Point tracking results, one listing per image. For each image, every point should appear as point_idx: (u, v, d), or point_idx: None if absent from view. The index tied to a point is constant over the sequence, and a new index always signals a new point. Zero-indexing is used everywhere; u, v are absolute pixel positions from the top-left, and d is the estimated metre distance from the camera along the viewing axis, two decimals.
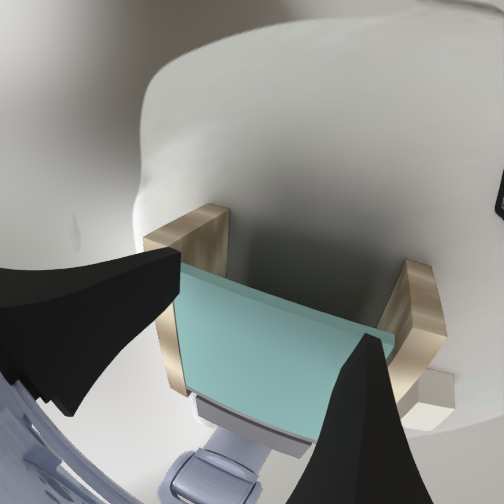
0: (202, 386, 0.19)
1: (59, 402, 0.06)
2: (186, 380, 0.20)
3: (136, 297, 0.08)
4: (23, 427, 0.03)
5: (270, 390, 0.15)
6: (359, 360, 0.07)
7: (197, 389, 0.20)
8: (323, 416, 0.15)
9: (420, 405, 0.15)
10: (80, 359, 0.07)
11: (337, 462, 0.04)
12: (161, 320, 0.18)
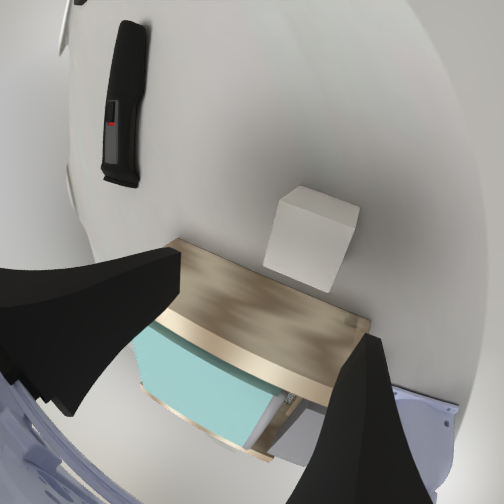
0: (232, 436, 0.20)
1: (59, 402, 0.06)
2: (234, 443, 0.21)
3: (136, 297, 0.08)
4: (23, 427, 0.03)
5: (199, 394, 0.19)
6: (359, 360, 0.07)
7: (240, 442, 0.20)
8: (213, 376, 0.16)
9: (270, 261, 0.15)
10: (80, 359, 0.07)
11: (337, 462, 0.04)
12: (187, 419, 0.24)
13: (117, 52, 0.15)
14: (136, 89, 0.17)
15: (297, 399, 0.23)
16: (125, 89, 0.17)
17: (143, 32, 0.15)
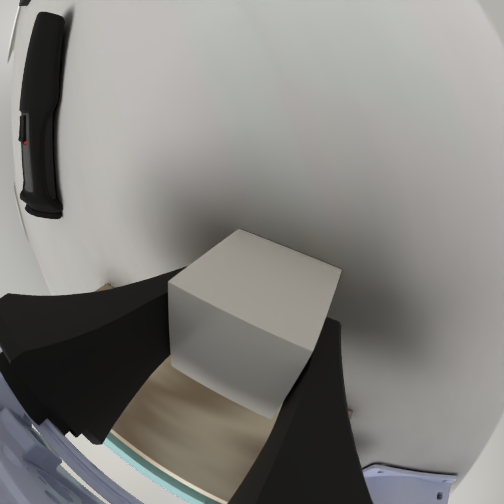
0: (187, 501, 0.14)
1: (89, 434, 0.05)
2: None
3: None
4: (23, 427, 0.03)
5: (139, 468, 0.12)
6: None
7: None
8: (140, 466, 0.10)
9: (179, 364, 0.09)
10: (113, 389, 0.06)
11: (275, 440, 0.05)
12: None
13: (29, 53, 0.08)
14: (47, 97, 0.11)
15: None
16: (35, 99, 0.10)
17: (60, 23, 0.08)
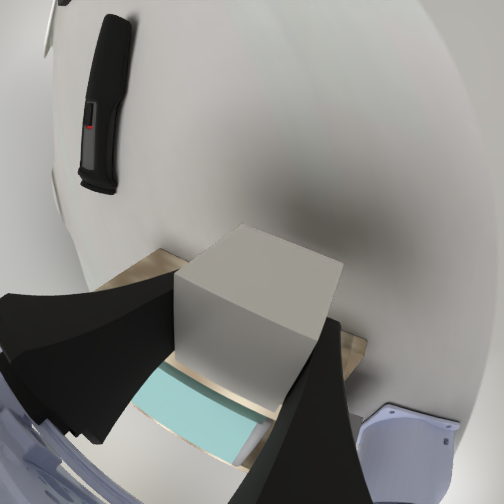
0: (220, 453, 0.19)
1: (89, 433, 0.05)
2: (223, 459, 0.19)
3: (171, 319, 0.08)
4: (23, 427, 0.03)
5: (183, 414, 0.17)
6: None
7: (229, 460, 0.19)
8: (194, 399, 0.15)
9: (184, 357, 0.09)
10: (113, 389, 0.06)
11: (275, 440, 0.05)
12: (175, 433, 0.22)
13: (98, 49, 0.13)
14: (115, 91, 0.15)
15: None
16: (104, 90, 0.15)
17: (128, 27, 0.13)
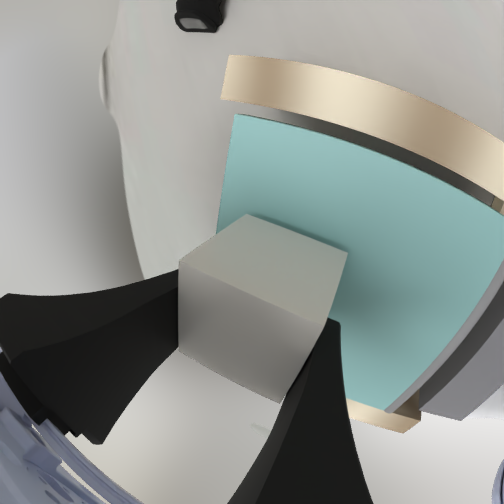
0: (379, 389, 0.12)
1: (89, 434, 0.05)
2: (373, 405, 0.12)
3: (171, 319, 0.08)
4: (23, 427, 0.03)
5: (364, 291, 0.10)
6: None
7: (389, 399, 0.12)
8: (426, 212, 0.08)
9: (187, 348, 0.09)
10: (113, 389, 0.06)
11: (275, 440, 0.05)
12: None
13: None
14: None
15: None
16: None
17: None
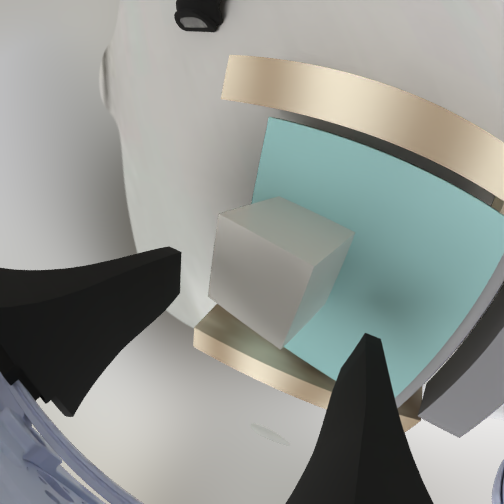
0: None
1: (59, 403, 0.06)
2: None
3: (136, 297, 0.08)
4: (23, 427, 0.03)
5: (367, 277, 0.11)
6: (359, 360, 0.07)
7: None
8: (422, 205, 0.09)
9: (215, 292, 0.11)
10: (80, 359, 0.07)
11: (337, 462, 0.04)
12: (280, 383, 0.15)
13: None
14: None
15: None
16: None
17: None
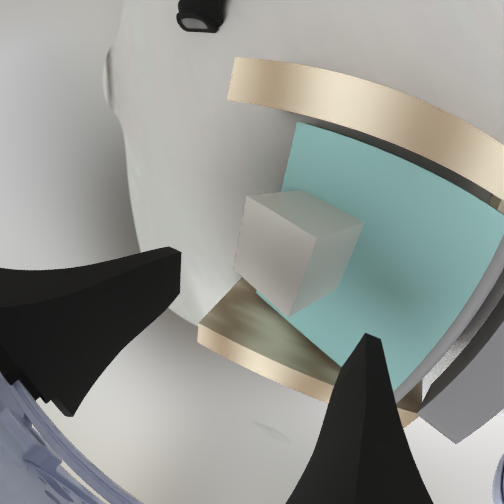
0: None
1: (59, 402, 0.06)
2: None
3: (136, 297, 0.08)
4: (23, 427, 0.03)
5: (373, 264, 0.12)
6: (359, 360, 0.07)
7: None
8: (421, 199, 0.10)
9: (239, 264, 0.14)
10: (80, 359, 0.07)
11: (337, 462, 0.04)
12: (283, 377, 0.16)
13: None
14: None
15: None
16: None
17: None
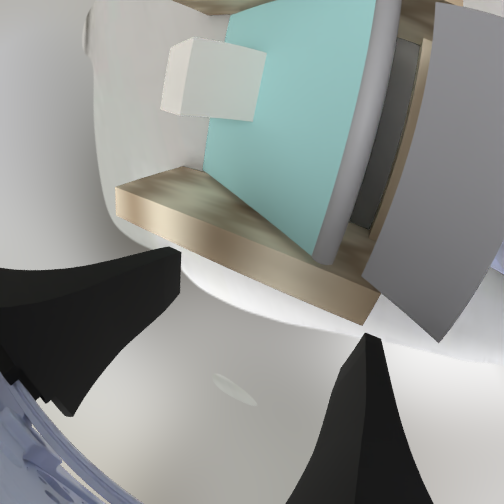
0: (301, 206, 0.11)
1: (59, 402, 0.06)
2: (300, 243, 0.12)
3: (136, 297, 0.08)
4: (23, 427, 0.03)
5: (276, 80, 0.11)
6: (359, 360, 0.07)
7: (313, 227, 0.11)
8: (302, 12, 0.08)
9: (163, 102, 0.13)
10: (80, 359, 0.07)
11: (337, 462, 0.04)
12: (189, 237, 0.14)
13: None
14: None
15: (393, 178, 0.13)
16: None
17: None
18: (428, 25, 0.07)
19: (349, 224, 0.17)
